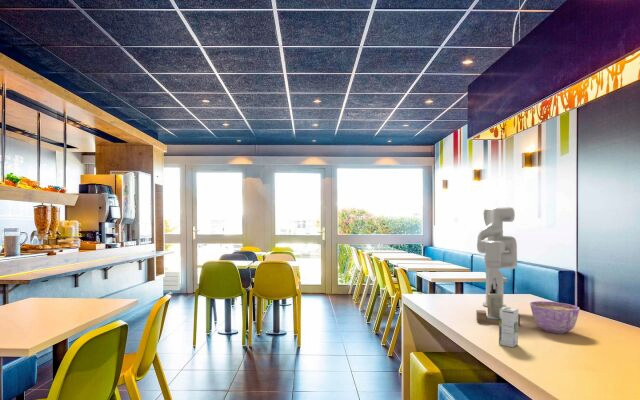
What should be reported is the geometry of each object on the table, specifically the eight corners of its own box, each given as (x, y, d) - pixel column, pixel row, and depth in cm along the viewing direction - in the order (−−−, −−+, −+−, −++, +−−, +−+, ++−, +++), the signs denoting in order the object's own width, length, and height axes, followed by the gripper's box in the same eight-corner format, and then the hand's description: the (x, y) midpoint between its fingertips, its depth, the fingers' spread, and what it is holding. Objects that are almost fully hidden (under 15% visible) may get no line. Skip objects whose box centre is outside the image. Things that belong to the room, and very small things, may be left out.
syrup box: (503, 341, 178) (503, 306, 178) (518, 344, 174) (518, 308, 175) (498, 344, 173) (498, 308, 174) (514, 347, 170) (514, 310, 170)
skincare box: (499, 317, 224) (499, 293, 224) (502, 319, 219) (502, 294, 220) (486, 316, 224) (487, 292, 225) (489, 318, 220) (489, 294, 220)
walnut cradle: (476, 319, 216) (476, 309, 217) (517, 323, 212) (517, 312, 212) (477, 322, 211) (477, 312, 211) (519, 325, 206) (520, 315, 206)
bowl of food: (587, 338, 186) (587, 311, 186) (536, 335, 190) (536, 308, 190) (570, 327, 205) (570, 302, 206) (524, 324, 209) (524, 300, 210)
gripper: (484, 263, 237) (483, 296, 237) (487, 265, 223) (487, 301, 222) (498, 263, 235) (498, 297, 235) (503, 266, 221) (502, 302, 220)
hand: (493, 299), depth 228 cm, fingers closed
